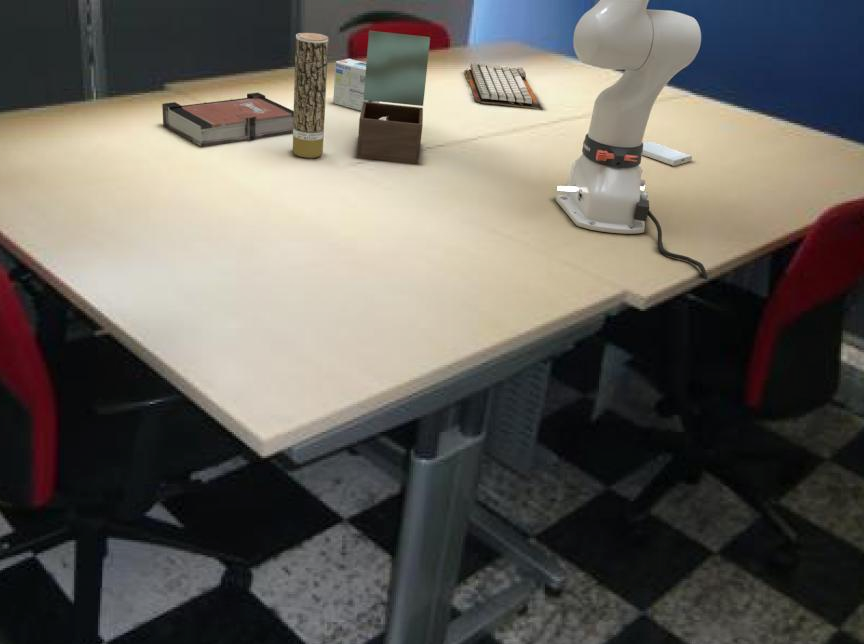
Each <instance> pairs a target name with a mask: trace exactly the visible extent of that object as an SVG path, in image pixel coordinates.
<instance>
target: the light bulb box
mask: <svg viewBox="0 0 864 644" xmlns="http://www.w3.org/2000/svg"><path fill="white" fill-rule="evenodd" d="M366 63H367V62H366V61H365V62H364V61H360V60H356V59H352V58H346V59H342V60H341V59H340V60H336V61H335V63H334V81H333V82H334V83H333V98H332V99H333V101H332V102H333V103H332V104H335V105H338V106H342V107H344V108H345V107H346V108H350V109H353V110H357V111H360V112H361V110H362V105H363V102H373V103H380V102H379V101H369V100H363V99H364V87H365V75H366Z"/></svg>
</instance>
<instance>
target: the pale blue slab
mask: <svg viewBox="0 0 864 644" xmlns="http://www.w3.org/2000/svg"><path fill="white" fill-rule="evenodd" d="M367 40H368V42H367V51H366V62H365V63H366V75H365V87H364V99H363V100H369V101H379V103H387V104H397V105H407V106H416V107H424V101H425V94H426V93H425V91H426V83H427V75H428V74H427V72H428V65H429V64H428V63H429V53H430V44H431V42H430V41H431V37H430V36H422V35H413V34H405V33H395V32H387V31H386V32H385V31H375V30H369V31H368V39H367Z"/></svg>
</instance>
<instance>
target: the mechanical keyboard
mask: <svg viewBox="0 0 864 644" xmlns="http://www.w3.org/2000/svg"><path fill="white" fill-rule="evenodd" d="M469 67H470V69H468V68H466V69H464V70H463V71H464V75H465V77H466V81H467V83H469V84H468V85H469V86H470V88H471V92H472V95H473V97H474V101H475V102H476V103H477V102H478V103H481V104H485V105H495V106H506V107H515V108H524V109H533V110H543V107H542V106H541V103H539V100H538V99H537V97H536V95H535V94H534V91H533V90H532V88H531V85H530V84H529V82H528V80H527V79H526V78H527V72H526V71H525V69H524V67H523V66H520V67H517V68H516V67H515V66H510V67H508V65H503V66H500V65H495V64H486V65H485V63H483V62H478V63H477V62H473V61H471V62H470V66H469Z"/></svg>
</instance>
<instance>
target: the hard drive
mask: <svg viewBox="0 0 864 644" xmlns="http://www.w3.org/2000/svg"><path fill="white" fill-rule="evenodd" d="M642 143H643V154H642V156H644V157H648V158H650V159H652V160H656V161H659V162H661V163H665V164H667V165H670V166H672V167H676V166H680V165H682V164H686V163H690V162H691V161H692V159H693V156H692V155H690V154H688V153H684V152H682V151H679V150H676V149H674V148H671V147H668V146H665V145H663V144H659V143H657V142H653V141H651V140H649V141H645V142H642Z"/></svg>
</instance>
